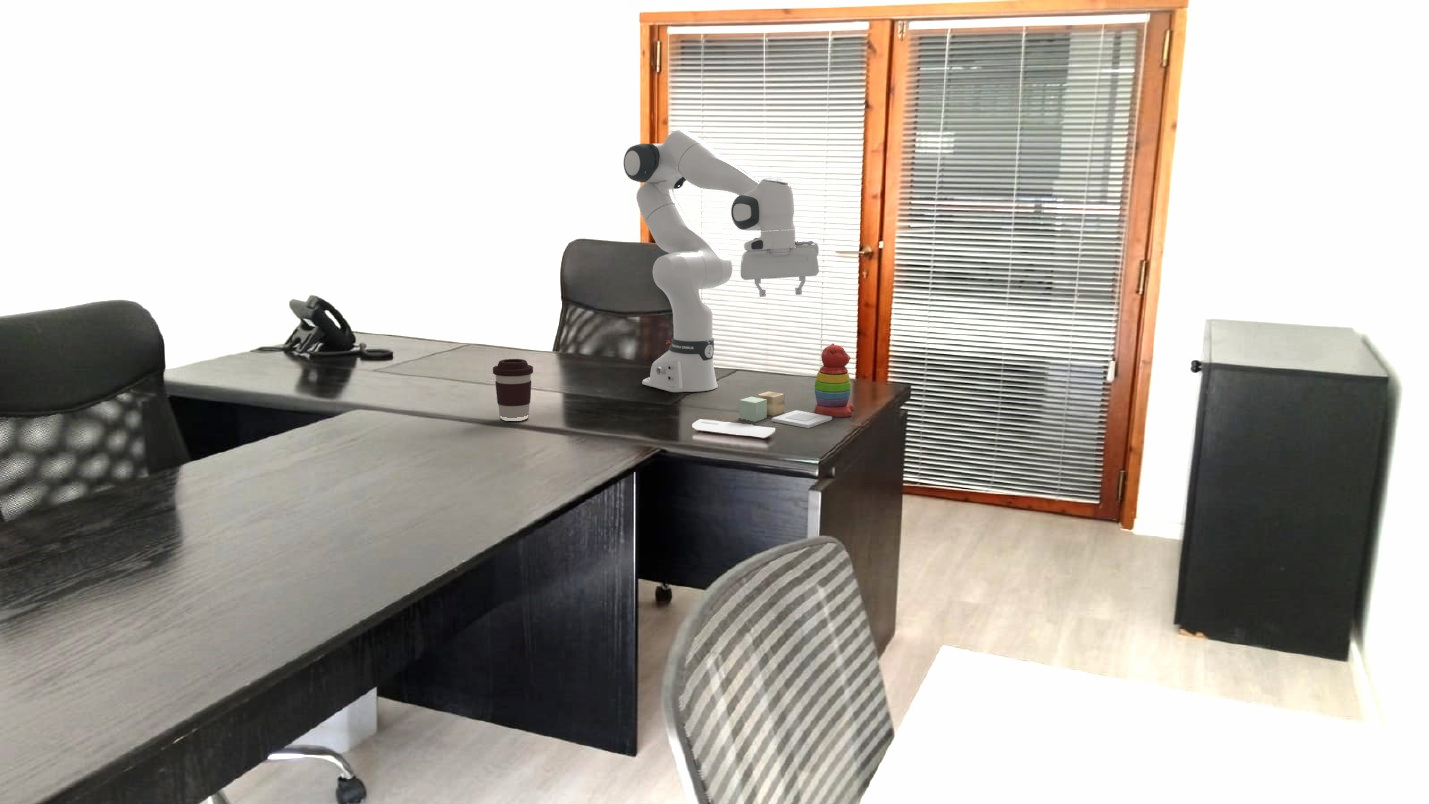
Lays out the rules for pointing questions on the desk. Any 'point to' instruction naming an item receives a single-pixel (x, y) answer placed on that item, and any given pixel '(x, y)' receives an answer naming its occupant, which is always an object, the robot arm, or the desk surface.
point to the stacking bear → (833, 383)
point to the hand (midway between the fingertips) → (780, 295)
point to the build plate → (802, 419)
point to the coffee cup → (513, 387)
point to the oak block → (773, 402)
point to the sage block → (753, 409)
